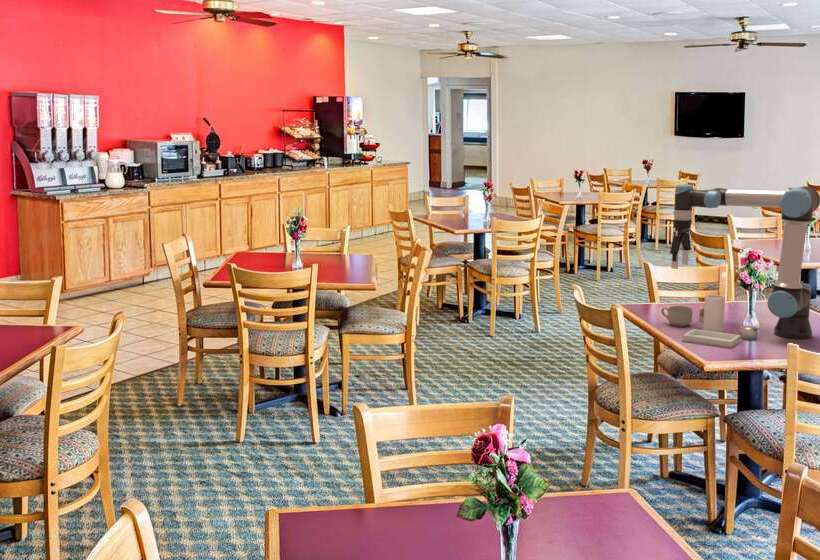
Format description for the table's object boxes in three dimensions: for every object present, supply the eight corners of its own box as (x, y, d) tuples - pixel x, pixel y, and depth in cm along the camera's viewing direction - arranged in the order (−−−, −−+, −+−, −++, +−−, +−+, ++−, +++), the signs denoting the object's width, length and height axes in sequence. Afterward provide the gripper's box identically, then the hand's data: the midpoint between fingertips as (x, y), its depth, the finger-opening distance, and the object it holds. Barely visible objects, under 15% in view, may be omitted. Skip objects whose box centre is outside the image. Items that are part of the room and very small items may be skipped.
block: (710, 320, 433) (711, 307, 432) (710, 322, 428) (711, 309, 427) (699, 319, 434) (700, 306, 433) (699, 321, 430) (699, 308, 429)
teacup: (696, 325, 422) (697, 308, 420) (684, 329, 414) (685, 311, 413) (668, 320, 431) (669, 303, 430) (656, 324, 424) (657, 306, 422)
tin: (758, 338, 398) (759, 326, 397) (754, 341, 392) (755, 330, 391) (742, 336, 402) (742, 324, 401) (737, 339, 396) (738, 327, 395)
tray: (740, 341, 391) (740, 335, 391) (730, 348, 380) (731, 341, 379) (693, 335, 402) (693, 328, 402) (682, 341, 391) (682, 335, 391)
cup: (725, 334, 404) (727, 298, 402) (705, 334, 405) (708, 298, 402) (719, 330, 412) (721, 294, 410) (700, 329, 413) (702, 294, 410)
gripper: (683, 216, 426) (680, 262, 430) (664, 221, 406) (661, 269, 410) (699, 217, 422) (697, 263, 426) (681, 222, 402) (678, 271, 406)
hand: (679, 266), depth 418 cm, fingers open, 13 cm apart
